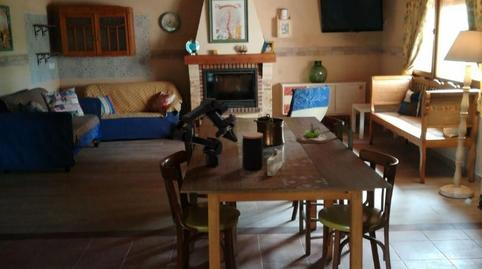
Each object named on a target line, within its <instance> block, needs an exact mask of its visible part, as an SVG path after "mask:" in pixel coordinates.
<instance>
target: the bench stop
mask: <svg viewBox="0 0 482 269" xmlns="http://www.w3.org/2000/svg"><path fill="white" fill-rule="evenodd" d="M272 151H273V152H272V153H273V154H272V155H271V156H270V157H269V158H268V159H267V165H266V166H267V169H266V170H267V173H266V174H267V176H271V177H274V176H275V175H276V174H277V173H278V171H279V170H280V169H281V167H282V166H283V154H284V153H283V150H281V149H278V148H273V150H272Z"/></svg>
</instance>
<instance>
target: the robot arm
mask: <svg viewBox="0 0 482 269" xmlns="http://www.w3.org/2000/svg"><path fill="white" fill-rule="evenodd" d="M229 110H230V109H229V105H228V104H227V103H225V101H224V100H220V101H219V102H218V101H217V99H216V98H211V97H204V98H203V99H202V100H201V101H200V103H199V105H197V106H196V107H195V108H193V109H192V110H190V111H189V112H187V113H186V114H184V115H182V116H181V117H180V120H179V122H178V123H177V124H176V125H175V127H174V130H173V132H172V138H173V141H175V142H179V143H184V144H194V145H198V146H203V149H202V154H205V164H204V166H205V167H211V168H212V167H213V168H216V167H218V166H219V165H220V164H221V159H220V158H221V157H220V156H221V154H222V150H223V147H224V146H223V141H222V140H221V138H223V139H226V140H228V141H231V142H233V143H237V142H238V141H239V140H238V138H237V136H236V133H235V130H234V129H235V126H236V125H237V123H236V122H235V121H237V118H236V117H237V116H236V115H235V114H234V113H232V112H231V113H229V114H228V116H227V117H225V116H223V115H225V114H226V113H227V112H229ZM200 117H202V119H206V118H207V119H208V120H209V121H210V123H212V126H213V128H214V127H215V128H216V129H217V131H216V132H215V133H214V136H215V137H211V136H206V138H204V137H201V136H200V137H199V136H197V135H193V127H192V124H193V122H194V121H196V120H197V119H199V118H200ZM185 125H186V130H181V129H182V128H183V127H184V126H185Z"/></svg>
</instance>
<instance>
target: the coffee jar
mask: <svg viewBox="0 0 482 269" xmlns="http://www.w3.org/2000/svg"><path fill="white" fill-rule="evenodd" d="M263 137H264V134H263V133H262V132H255V131H251V132H250V131H249V132H244V133H242V140H241V143H242V144H241V146H242V147H241V149H242V154H241V155H242V158H241V159H242V160H241V161H242V165H241V166H242V168H243V169H244V170H246V171H250V172H252V171H253V172H255V171H260V170H262V168H263V167H264V138H263Z"/></svg>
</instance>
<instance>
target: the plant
mask: <svg viewBox="0 0 482 269" xmlns="http://www.w3.org/2000/svg"><path fill="white" fill-rule="evenodd" d="M313 125H314V123H313V122H310V126H311V127H310V128H309V130H304V131H305V133H300V134H298V136H297V137H296V141H297V142H299V143H300V144H326V143H327V142H329V138H328V136H327V135H325V134H322V133H320V132H321V129H322V128H321V127H315V128H314V127H313ZM317 129H318V131H317Z"/></svg>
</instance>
